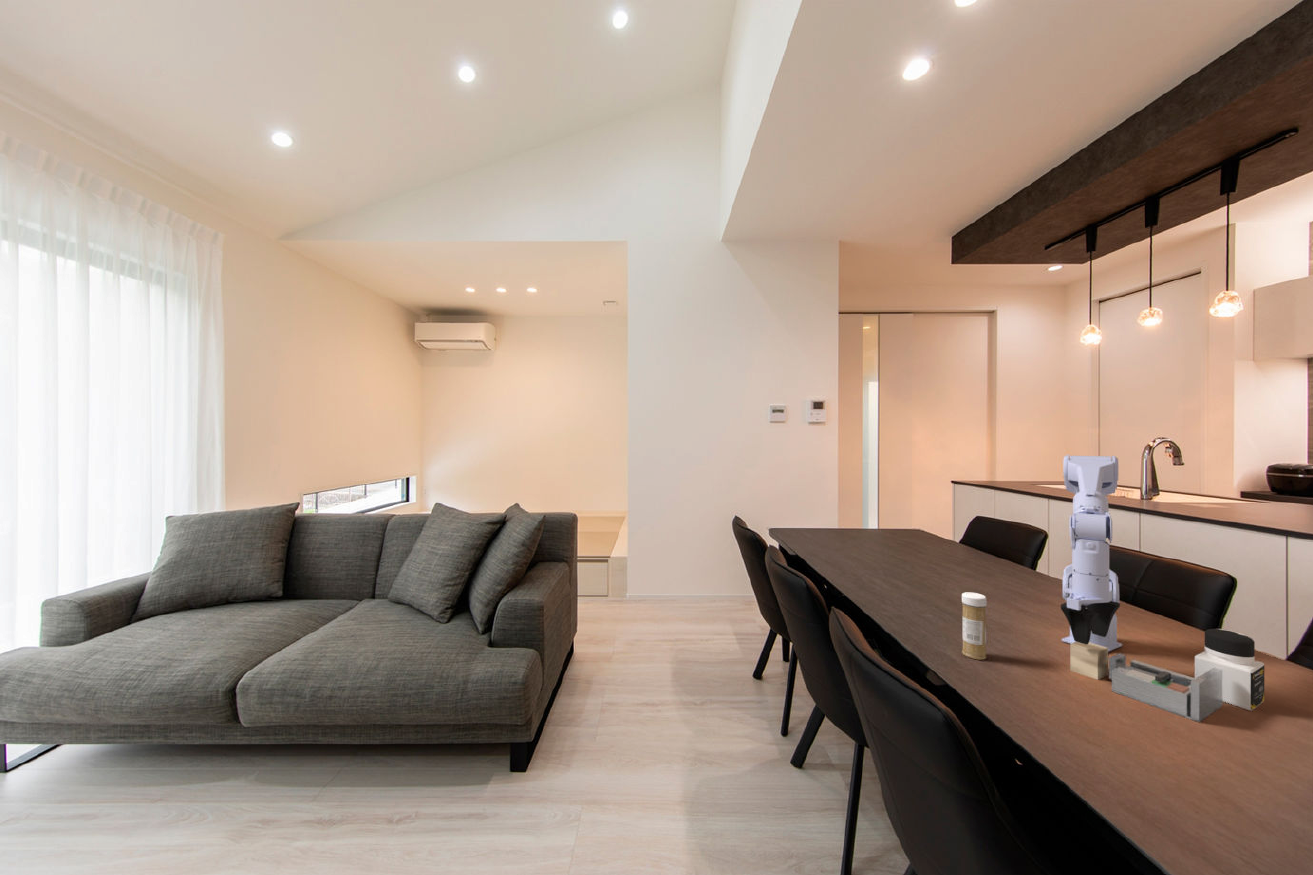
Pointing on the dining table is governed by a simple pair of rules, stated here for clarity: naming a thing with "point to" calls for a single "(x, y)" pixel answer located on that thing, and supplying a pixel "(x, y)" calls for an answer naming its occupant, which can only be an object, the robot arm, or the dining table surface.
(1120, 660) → the grey l-shaped piece
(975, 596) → the sprinkles bottle
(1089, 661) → the block
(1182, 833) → the dining table surface
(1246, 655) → the medicine bottle
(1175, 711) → the gauge housing
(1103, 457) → the robot arm
